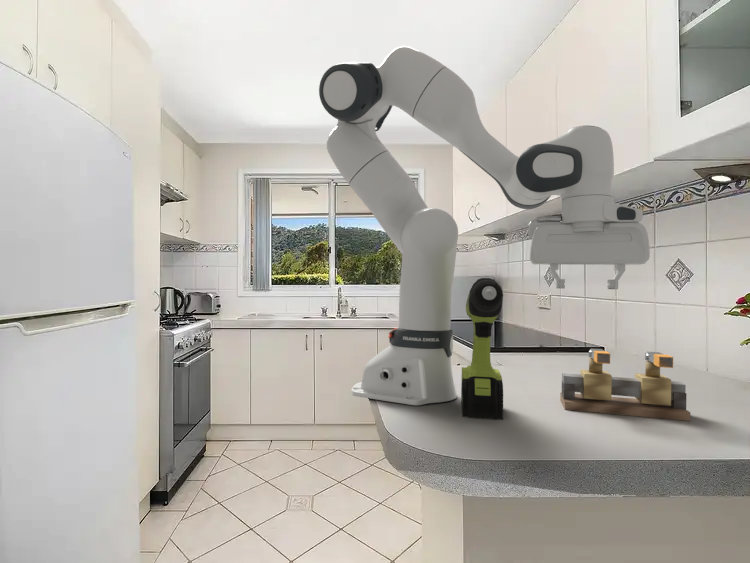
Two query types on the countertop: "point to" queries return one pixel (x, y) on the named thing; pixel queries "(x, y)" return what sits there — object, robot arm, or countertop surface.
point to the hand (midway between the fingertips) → (586, 289)
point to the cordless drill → (482, 354)
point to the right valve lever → (659, 359)
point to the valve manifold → (625, 393)
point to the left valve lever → (600, 356)
